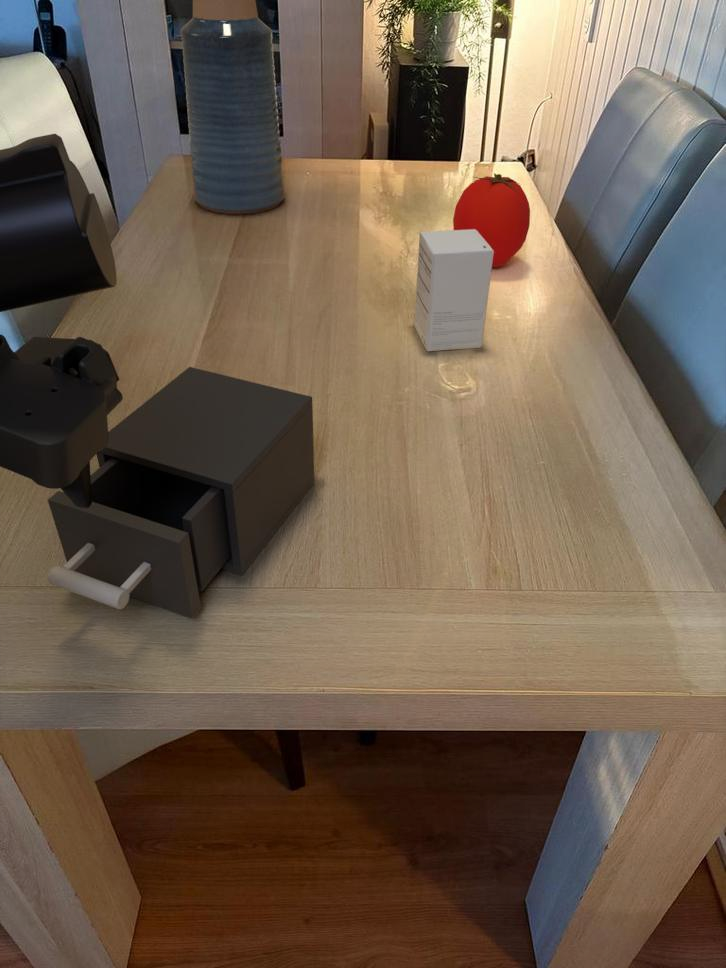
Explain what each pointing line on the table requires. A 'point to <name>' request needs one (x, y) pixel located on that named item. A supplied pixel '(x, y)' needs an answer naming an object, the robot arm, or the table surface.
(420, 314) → the white packaging box
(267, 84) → the vase
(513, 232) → the tomato
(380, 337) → the table surface
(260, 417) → the cabinet casing
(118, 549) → the drawer
